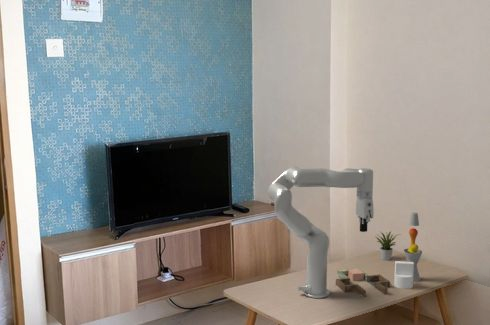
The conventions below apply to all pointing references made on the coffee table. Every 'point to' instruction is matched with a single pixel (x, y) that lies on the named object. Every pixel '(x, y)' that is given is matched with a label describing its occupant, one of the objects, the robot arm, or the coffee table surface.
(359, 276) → the terracotta block
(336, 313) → the coffee table surface
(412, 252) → the lava lamp
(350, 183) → the robot arm
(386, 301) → the coffee table surface
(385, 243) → the house plant
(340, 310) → the coffee table surface
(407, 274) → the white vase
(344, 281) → the box
